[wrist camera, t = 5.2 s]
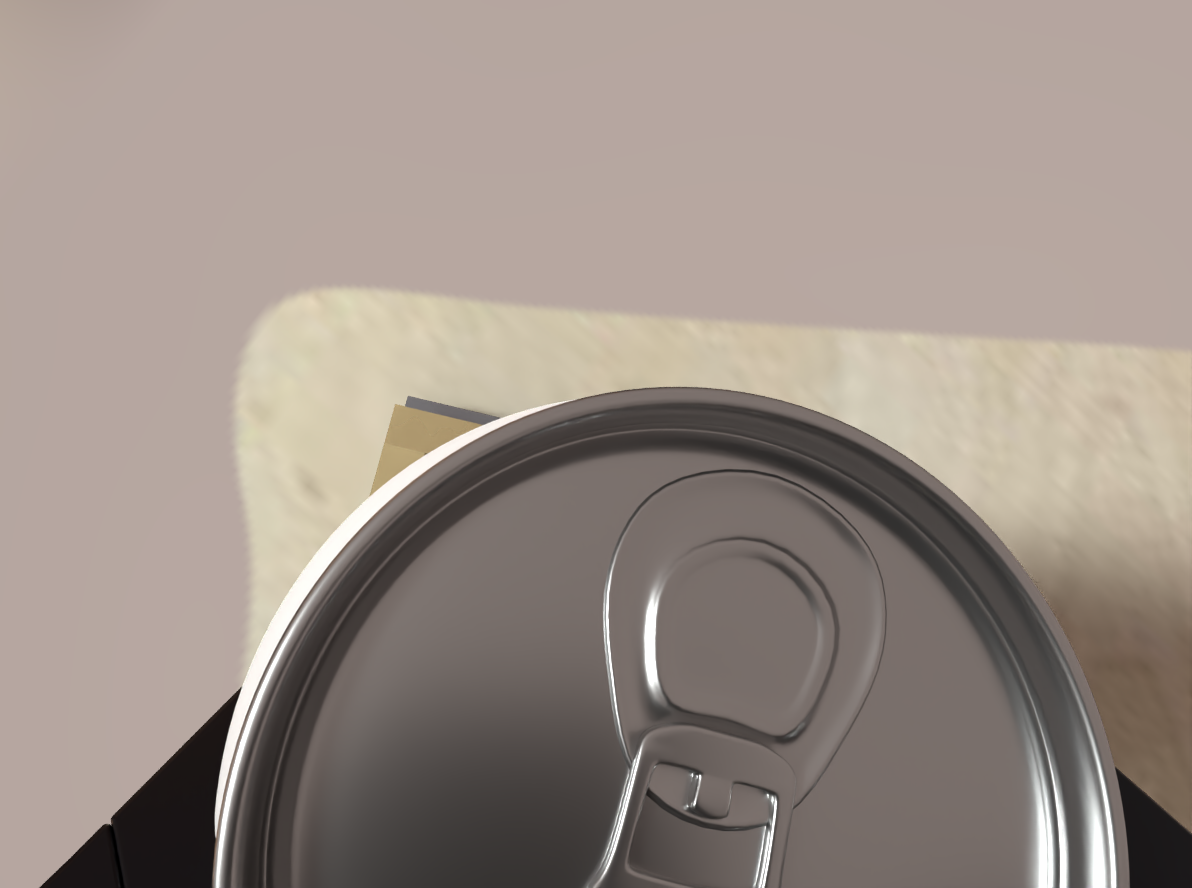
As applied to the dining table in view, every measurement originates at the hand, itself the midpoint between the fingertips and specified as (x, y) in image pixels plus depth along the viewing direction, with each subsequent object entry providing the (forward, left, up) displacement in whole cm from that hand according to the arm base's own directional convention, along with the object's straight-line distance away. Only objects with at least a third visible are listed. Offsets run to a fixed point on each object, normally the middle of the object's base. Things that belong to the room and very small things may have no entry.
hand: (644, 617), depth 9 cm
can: (-2, +1, -8) cm, 8 cm away
